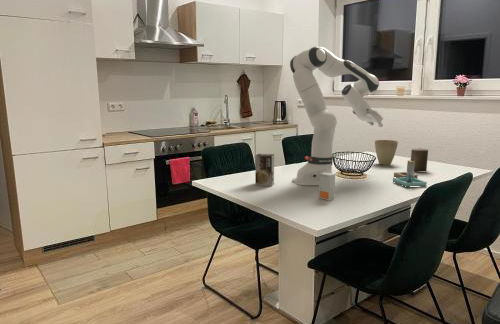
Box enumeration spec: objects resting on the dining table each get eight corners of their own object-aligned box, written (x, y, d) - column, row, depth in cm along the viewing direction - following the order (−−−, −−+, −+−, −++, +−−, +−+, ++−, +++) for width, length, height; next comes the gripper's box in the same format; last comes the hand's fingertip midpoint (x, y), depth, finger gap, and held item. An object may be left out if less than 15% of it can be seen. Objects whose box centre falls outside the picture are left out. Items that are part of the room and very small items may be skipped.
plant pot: (380, 161, 273) (382, 139, 270) (400, 164, 262) (402, 141, 259) (368, 164, 264) (370, 140, 261) (388, 167, 252) (390, 143, 250)
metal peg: (408, 184, 205) (410, 161, 203) (404, 182, 208) (406, 160, 206) (414, 183, 206) (416, 161, 204) (410, 182, 209) (411, 160, 207)
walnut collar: (403, 181, 215) (403, 175, 214) (393, 177, 223) (394, 172, 223) (417, 180, 217) (417, 175, 216) (407, 176, 225) (407, 171, 225)
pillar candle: (427, 172, 237) (429, 148, 234) (410, 171, 240) (412, 147, 237) (425, 170, 246) (427, 146, 243) (409, 168, 249) (411, 145, 246)
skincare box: (318, 198, 181) (319, 173, 178) (323, 196, 184) (324, 171, 181) (329, 200, 176) (330, 175, 174) (334, 199, 179) (335, 173, 177)
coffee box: (274, 183, 208) (274, 154, 205) (271, 186, 202) (272, 156, 199) (257, 182, 210) (258, 153, 207) (254, 185, 204) (255, 155, 201)
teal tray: (406, 187, 200) (406, 183, 200) (392, 182, 212) (393, 178, 211) (426, 186, 203) (426, 182, 202) (411, 181, 214) (412, 177, 214)
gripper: (376, 105, 212) (390, 123, 216) (357, 104, 232) (371, 120, 236) (368, 113, 212) (383, 131, 216) (350, 111, 231) (364, 127, 235)
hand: (377, 125), depth 226 cm, fingers open, 8 cm apart
